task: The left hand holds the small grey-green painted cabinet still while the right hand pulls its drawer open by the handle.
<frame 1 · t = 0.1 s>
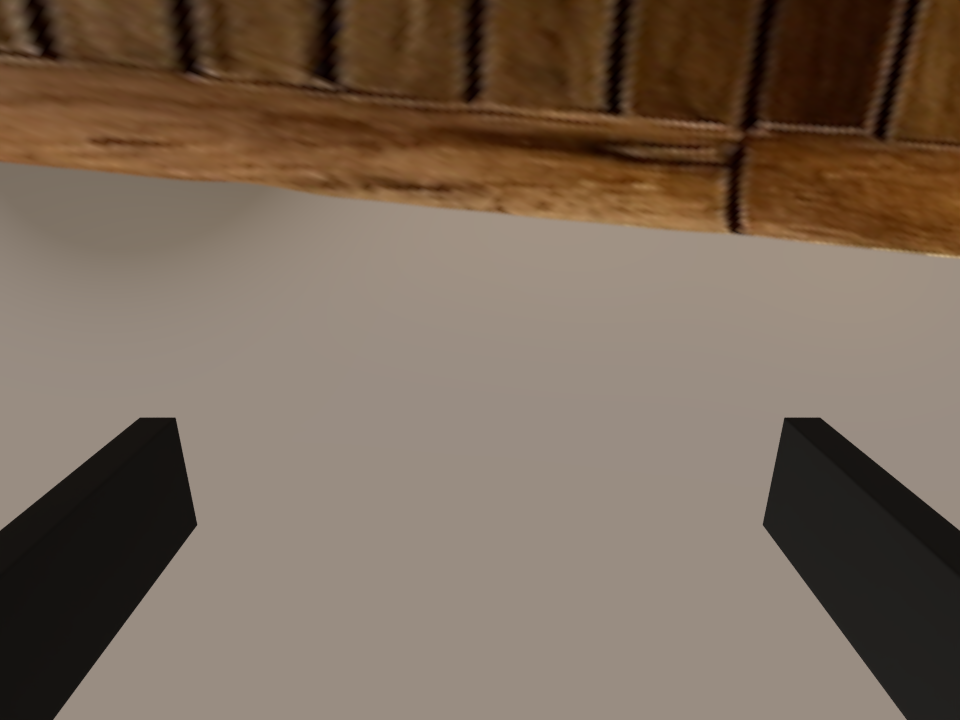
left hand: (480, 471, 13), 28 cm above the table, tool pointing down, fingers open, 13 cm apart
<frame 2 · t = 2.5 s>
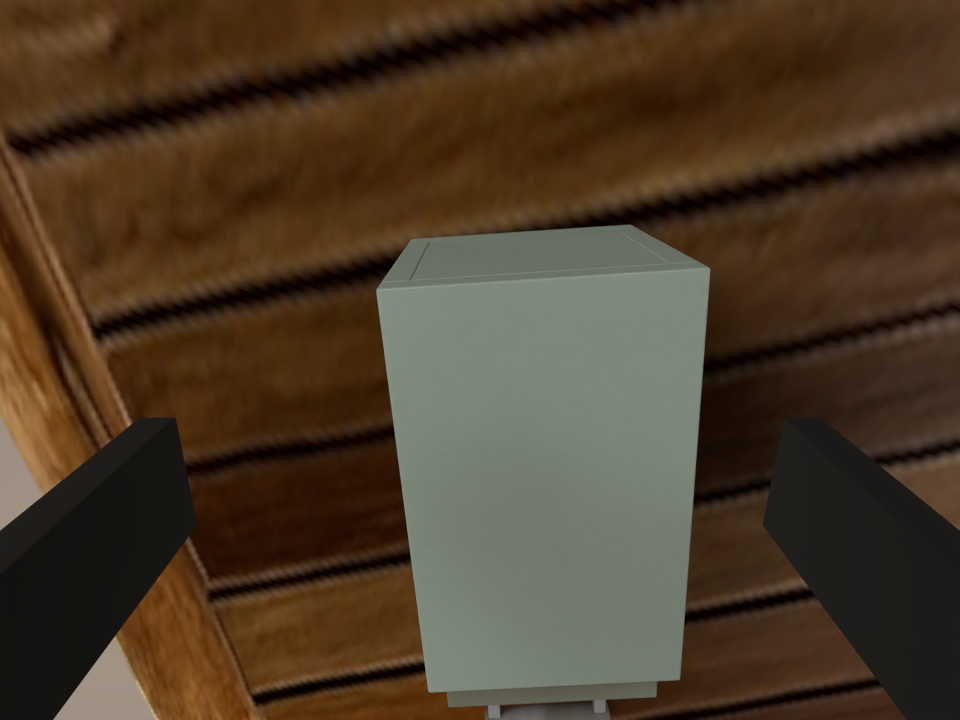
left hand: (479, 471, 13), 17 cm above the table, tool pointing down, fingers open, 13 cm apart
cabinet: (527, 397, 30), on the table
drawer: (539, 553, 28), point 5 cm above the table, slide at 0.9 cm
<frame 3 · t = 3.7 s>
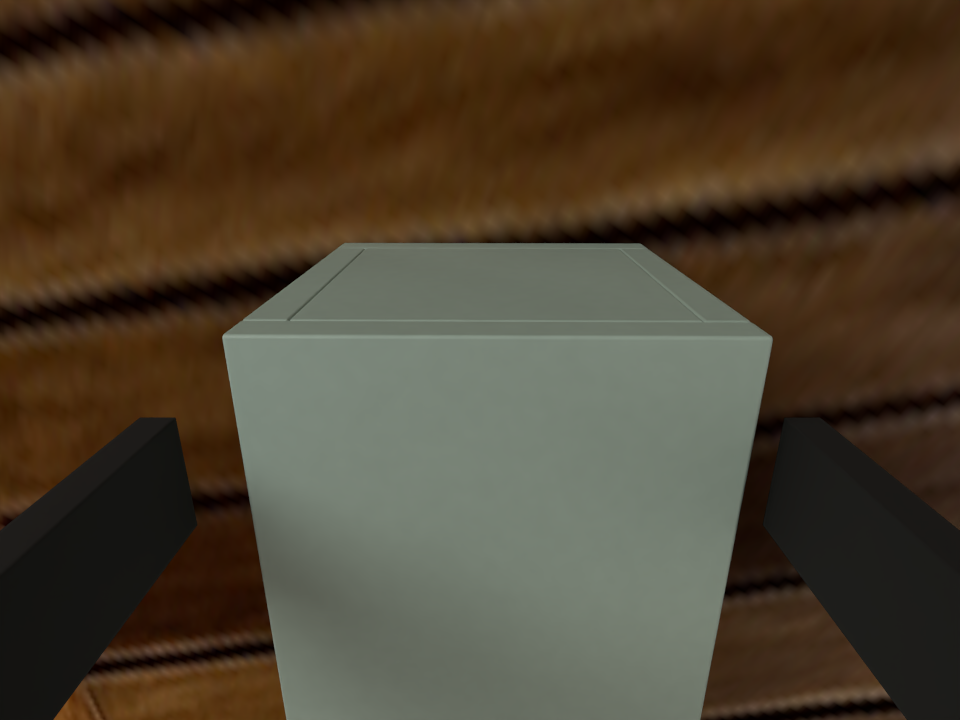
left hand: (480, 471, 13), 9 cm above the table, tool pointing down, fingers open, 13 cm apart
cabinet: (490, 457, 23), on the table
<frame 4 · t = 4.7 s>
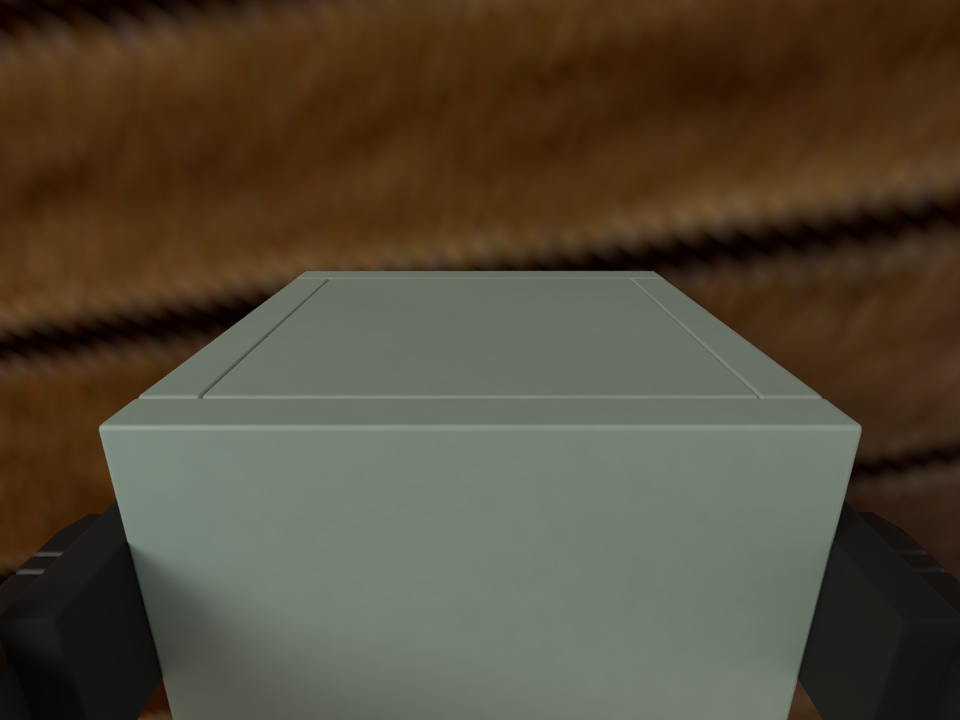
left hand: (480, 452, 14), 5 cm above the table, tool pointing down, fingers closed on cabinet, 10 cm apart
cabinet: (480, 513, 20), on the table, touching left hand
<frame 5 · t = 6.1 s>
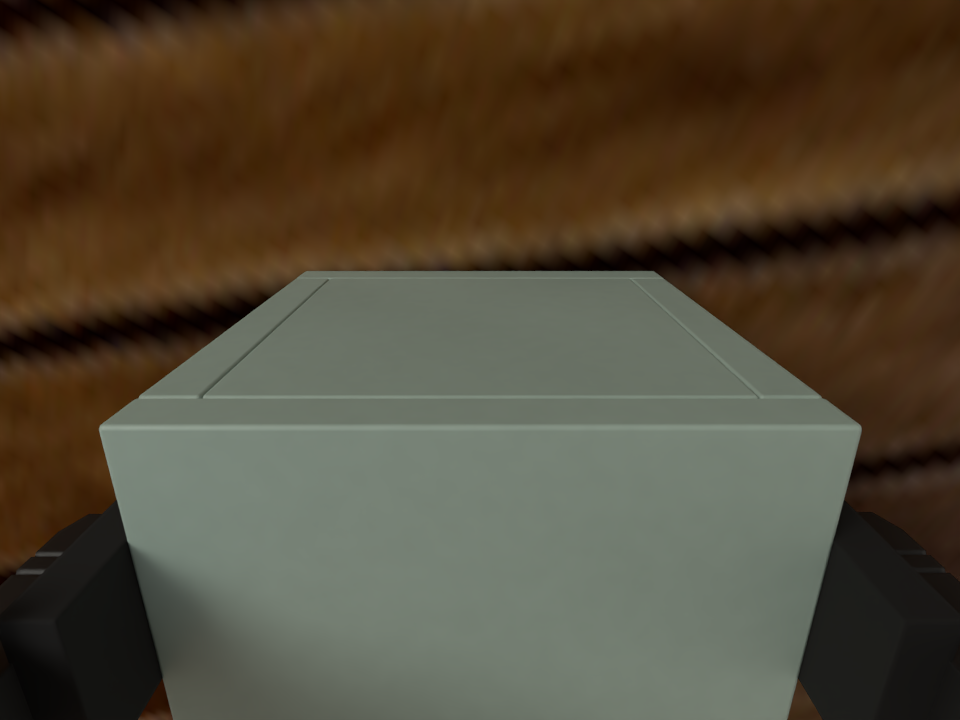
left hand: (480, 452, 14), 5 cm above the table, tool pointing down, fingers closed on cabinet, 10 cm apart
cabinet: (480, 513, 20), on the table, touching left hand
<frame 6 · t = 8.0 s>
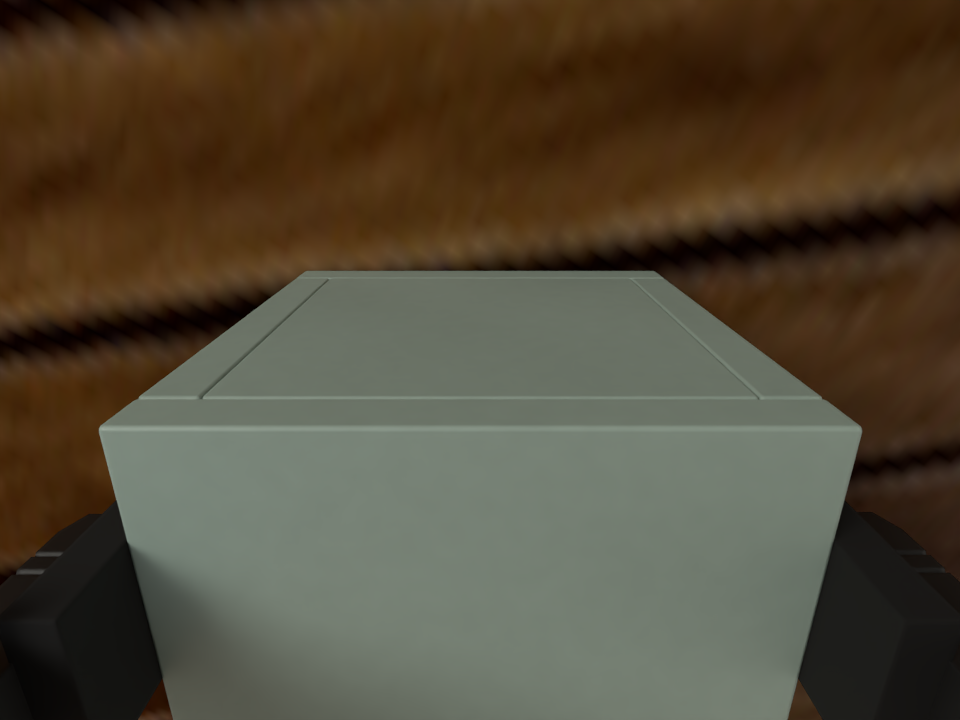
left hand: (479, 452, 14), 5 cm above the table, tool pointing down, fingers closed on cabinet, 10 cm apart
cabinet: (480, 513, 20), on the table, touching left hand
when the left hand's fingers open (5 cm above the table, at t = 9.6 s): cabinet stays where it is, on the table.
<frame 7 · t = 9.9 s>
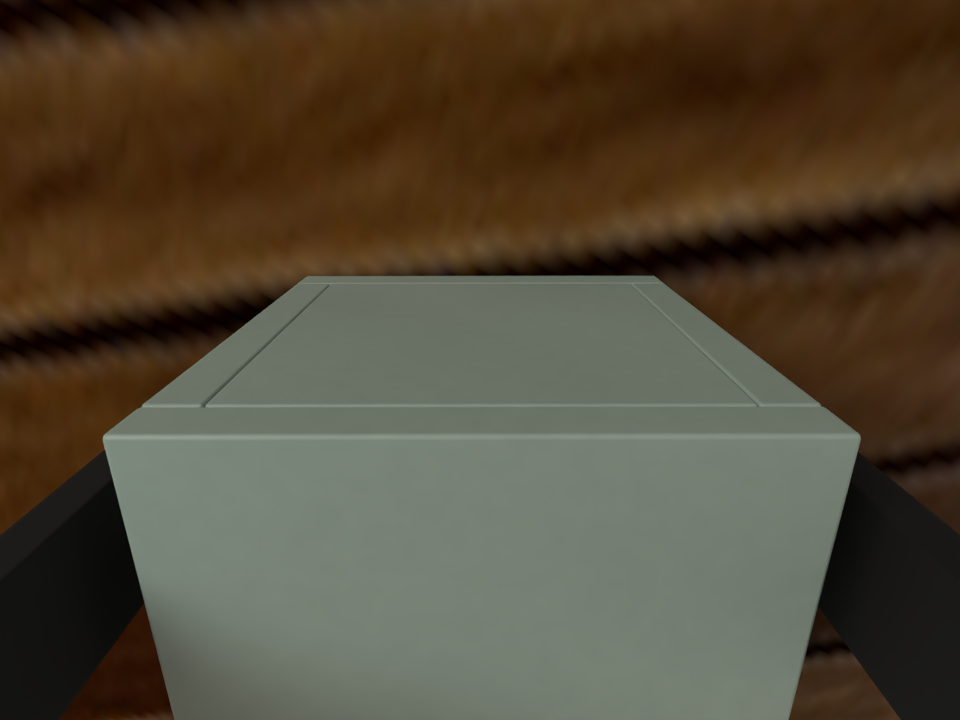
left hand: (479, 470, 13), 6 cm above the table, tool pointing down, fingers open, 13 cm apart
cabinet: (480, 517, 20), on the table
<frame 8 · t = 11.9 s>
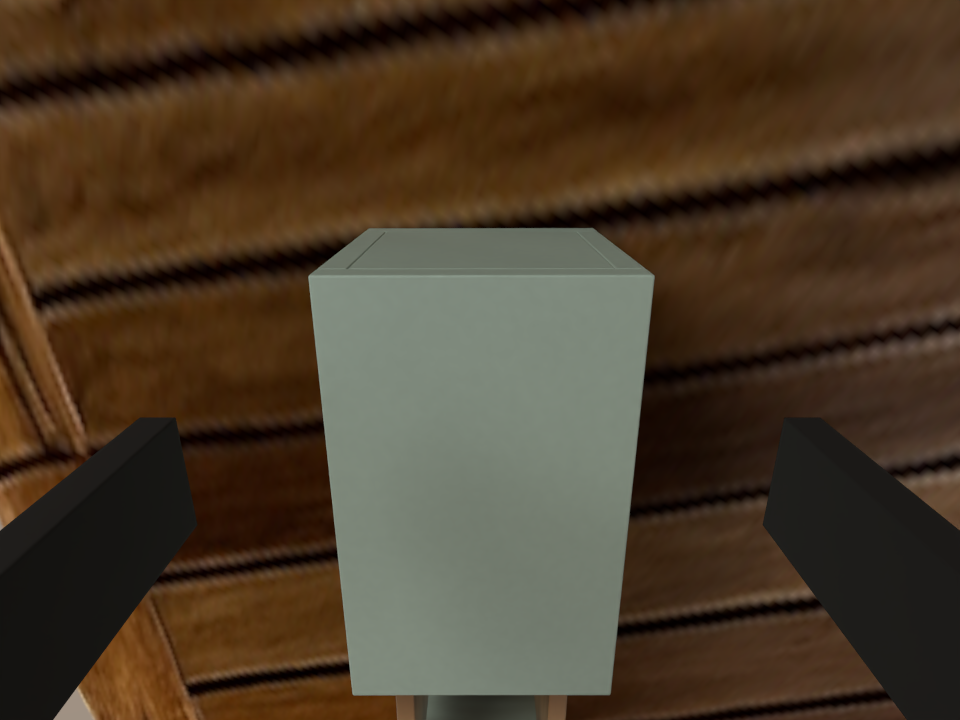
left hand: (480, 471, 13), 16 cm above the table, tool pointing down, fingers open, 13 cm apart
cabinet: (481, 397, 30), on the table
drawer: (481, 690, 30), point 5 cm above the table, slide at 9.3 cm
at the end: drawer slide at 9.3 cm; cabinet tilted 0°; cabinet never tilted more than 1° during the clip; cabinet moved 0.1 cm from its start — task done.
